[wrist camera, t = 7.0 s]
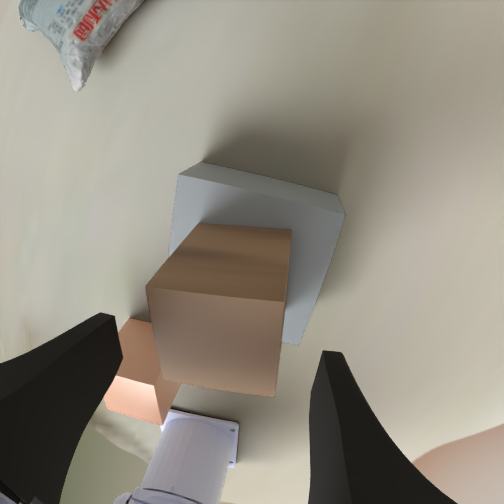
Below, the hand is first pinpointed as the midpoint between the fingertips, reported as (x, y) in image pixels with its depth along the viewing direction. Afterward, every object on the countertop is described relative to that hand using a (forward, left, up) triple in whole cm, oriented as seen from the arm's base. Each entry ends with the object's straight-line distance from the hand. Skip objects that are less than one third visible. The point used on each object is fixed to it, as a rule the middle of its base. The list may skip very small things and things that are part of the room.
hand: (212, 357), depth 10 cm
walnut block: (0, 0, -6) cm, 6 cm away
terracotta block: (-10, +7, -10) cm, 16 cm away
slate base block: (0, 0, -11) cm, 11 cm away
